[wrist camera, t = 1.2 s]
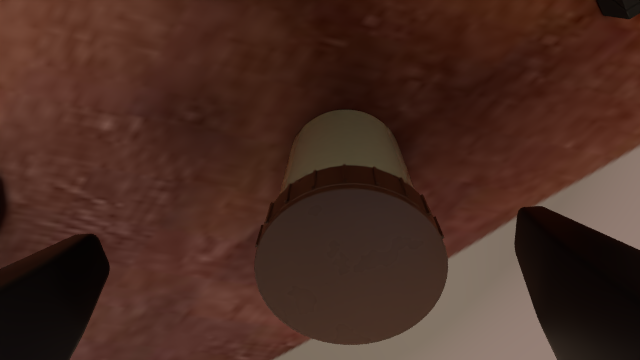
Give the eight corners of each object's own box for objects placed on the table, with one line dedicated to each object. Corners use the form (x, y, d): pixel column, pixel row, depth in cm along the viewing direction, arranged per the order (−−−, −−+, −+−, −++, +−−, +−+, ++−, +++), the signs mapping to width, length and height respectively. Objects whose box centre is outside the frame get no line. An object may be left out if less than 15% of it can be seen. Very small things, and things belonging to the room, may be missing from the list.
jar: (304, 219, 25) (289, 341, 16) (276, 123, 22) (241, 209, 14) (408, 200, 24) (446, 317, 16) (390, 97, 21) (425, 173, 13)
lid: (287, 322, 18) (282, 357, 16) (238, 183, 15) (226, 209, 13) (447, 296, 17) (459, 331, 15) (425, 145, 14) (437, 167, 13)
